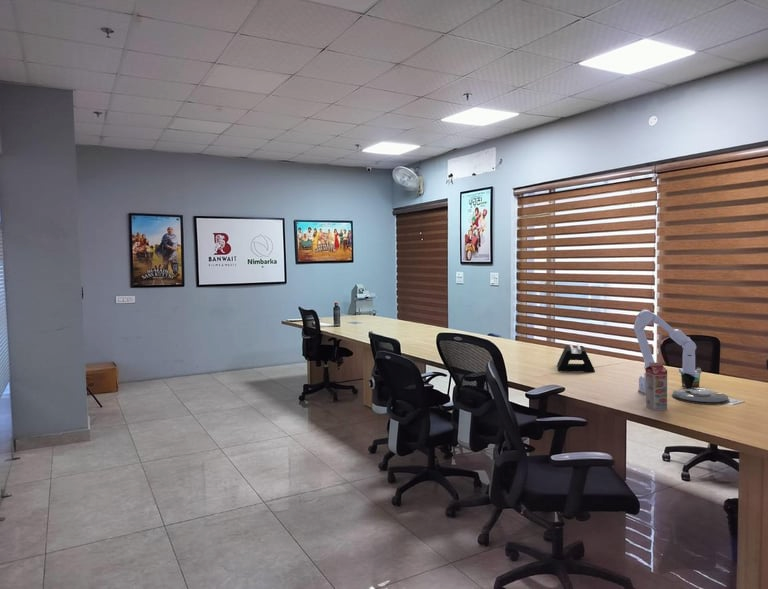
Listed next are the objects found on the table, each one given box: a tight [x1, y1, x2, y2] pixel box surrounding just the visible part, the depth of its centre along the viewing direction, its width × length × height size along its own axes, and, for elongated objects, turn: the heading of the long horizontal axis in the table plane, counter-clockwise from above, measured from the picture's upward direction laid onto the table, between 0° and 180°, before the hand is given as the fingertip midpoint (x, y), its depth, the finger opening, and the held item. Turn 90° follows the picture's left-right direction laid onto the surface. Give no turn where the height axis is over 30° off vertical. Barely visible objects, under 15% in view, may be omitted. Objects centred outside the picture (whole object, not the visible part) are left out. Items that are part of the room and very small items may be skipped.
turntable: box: [672, 388, 729, 403], centre depth 267 cm, size 24×24×1 cm
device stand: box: [557, 343, 596, 373], centre depth 352 cm, size 22×22×15 cm
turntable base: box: [671, 393, 730, 406], centre depth 267 cm, size 25×25×1 cm
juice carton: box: [645, 361, 668, 411], centre depth 250 cm, size 7×7×22 cm
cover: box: [690, 387, 712, 397], centre depth 267 cm, size 9×9×3 cm
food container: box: [679, 367, 703, 388], centre depth 291 cm, size 12×6×10 cm, turn 105°
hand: (688, 388), depth 276 cm, fingers closed
